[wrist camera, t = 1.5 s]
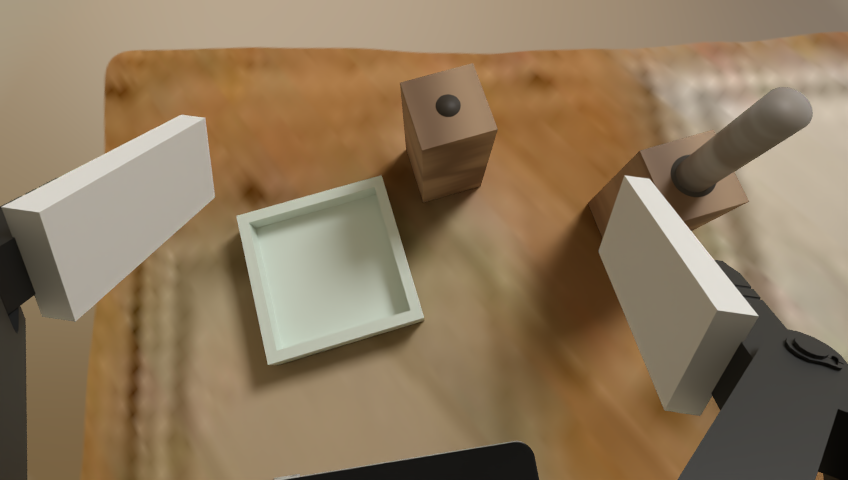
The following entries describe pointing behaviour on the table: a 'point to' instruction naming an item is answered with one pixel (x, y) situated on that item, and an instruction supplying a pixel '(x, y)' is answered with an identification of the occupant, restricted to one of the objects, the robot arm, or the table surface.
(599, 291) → the table surface
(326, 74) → the table surface
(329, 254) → the tray
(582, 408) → the table surface
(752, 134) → the block
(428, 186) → the block
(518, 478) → the tablet
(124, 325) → the table surface
